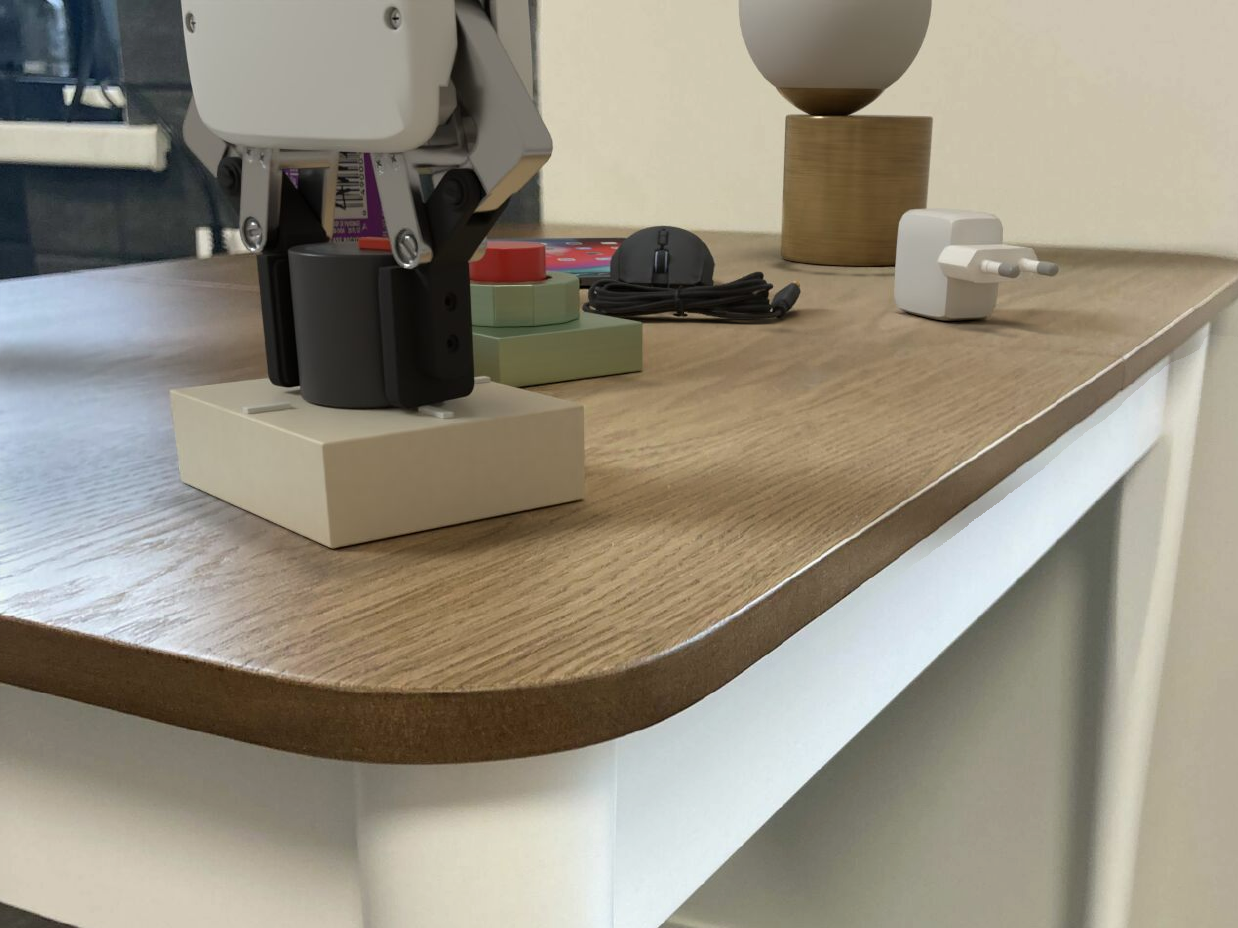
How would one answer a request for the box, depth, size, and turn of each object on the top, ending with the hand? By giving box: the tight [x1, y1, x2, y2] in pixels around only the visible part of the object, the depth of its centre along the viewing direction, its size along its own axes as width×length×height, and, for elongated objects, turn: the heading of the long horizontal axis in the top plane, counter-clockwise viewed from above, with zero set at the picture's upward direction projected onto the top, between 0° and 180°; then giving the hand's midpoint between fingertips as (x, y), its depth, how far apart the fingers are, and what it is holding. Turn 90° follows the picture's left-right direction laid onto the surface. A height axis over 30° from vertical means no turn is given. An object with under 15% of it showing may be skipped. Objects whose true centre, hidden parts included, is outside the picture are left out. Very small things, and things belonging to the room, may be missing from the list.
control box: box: [169, 376, 586, 549], centre depth 47 cm, size 10×9×3 cm
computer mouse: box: [581, 225, 802, 320], centre depth 89 cm, size 12×18×4 cm
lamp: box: [738, 0, 934, 267], centre depth 111 cm, size 15×14×25 cm
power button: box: [469, 241, 546, 282], centre depth 68 cm, size 4×4×2 cm
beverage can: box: [283, 151, 389, 242], centre depth 86 cm, size 7×7×12 cm
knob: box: [288, 237, 399, 408], centre depth 45 cm, size 4×4×5 cm
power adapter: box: [893, 207, 1060, 322], centre depth 83 cm, size 11×5×6 cm, turn 25°
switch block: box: [470, 270, 643, 388], centre depth 69 cm, size 10×8×4 cm
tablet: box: [487, 237, 628, 287], centre depth 108 cm, size 19×25×1 cm
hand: (370, 384), depth 46 cm, fingers closed on knob, 4 cm apart
